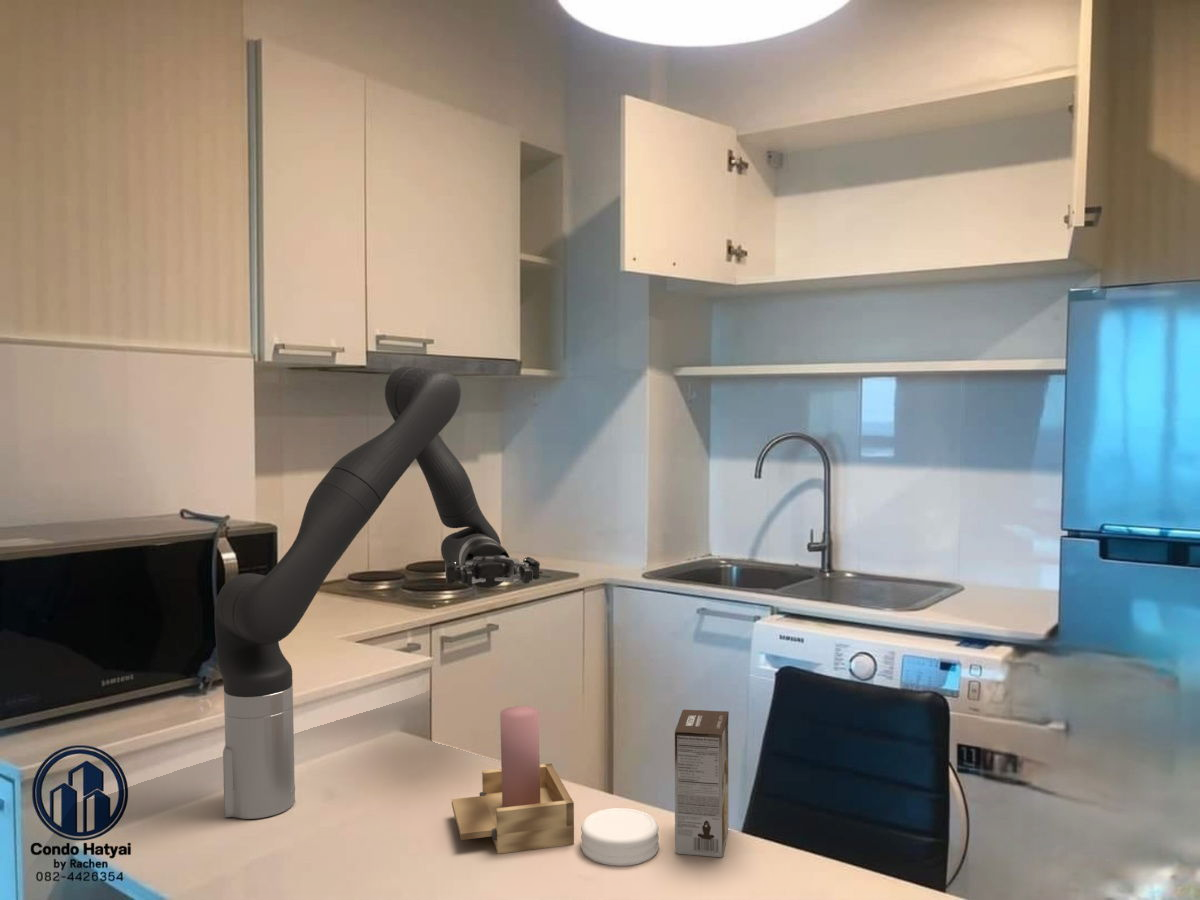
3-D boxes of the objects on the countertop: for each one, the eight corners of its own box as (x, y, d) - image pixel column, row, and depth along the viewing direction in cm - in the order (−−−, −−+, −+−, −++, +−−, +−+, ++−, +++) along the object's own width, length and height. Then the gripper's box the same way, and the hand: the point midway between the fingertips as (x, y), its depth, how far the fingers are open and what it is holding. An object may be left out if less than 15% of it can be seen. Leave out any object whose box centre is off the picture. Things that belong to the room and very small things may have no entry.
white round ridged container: (669, 840, 124) (669, 814, 124) (641, 874, 115) (640, 846, 115) (601, 826, 128) (600, 801, 128) (568, 858, 119) (567, 831, 119)
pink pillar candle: (505, 816, 125) (503, 720, 125) (499, 800, 130) (497, 708, 130) (543, 811, 127) (541, 716, 126) (536, 796, 132) (534, 704, 131)
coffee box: (682, 823, 129) (682, 707, 128) (729, 827, 127) (729, 710, 127) (673, 854, 120) (673, 730, 119) (724, 859, 118) (724, 733, 118)
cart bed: (462, 858, 119) (461, 815, 119) (450, 812, 132) (450, 774, 132) (574, 844, 123) (573, 802, 122) (551, 800, 136) (551, 763, 136)
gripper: (439, 539, 152) (449, 554, 136) (526, 536, 156) (546, 550, 140) (439, 586, 152) (450, 606, 137) (526, 581, 156) (546, 600, 140)
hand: (498, 578), depth 138 cm, fingers open, 8 cm apart
